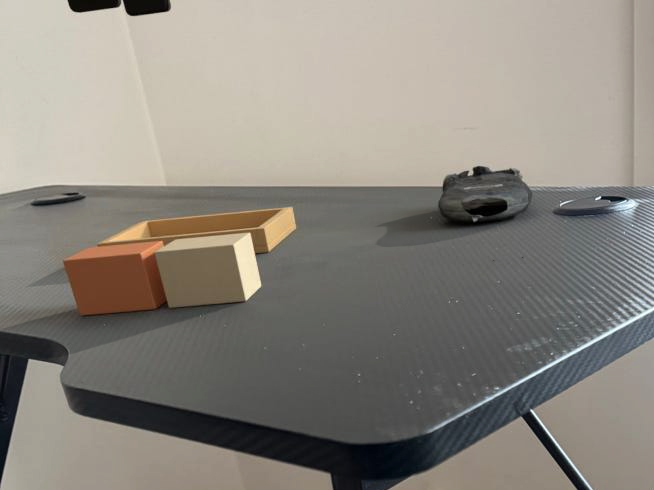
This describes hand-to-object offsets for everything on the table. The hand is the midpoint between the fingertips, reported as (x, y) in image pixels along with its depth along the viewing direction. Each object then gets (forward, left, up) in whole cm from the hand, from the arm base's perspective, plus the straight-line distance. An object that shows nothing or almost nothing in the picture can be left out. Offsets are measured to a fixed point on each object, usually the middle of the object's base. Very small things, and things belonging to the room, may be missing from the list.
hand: (125, 11), depth 62 cm
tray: (-6, +24, -19) cm, 31 cm away
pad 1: (-5, 0, -19) cm, 19 cm away
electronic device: (+22, +29, -19) cm, 40 cm away
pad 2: (+2, 0, -19) cm, 19 cm away
